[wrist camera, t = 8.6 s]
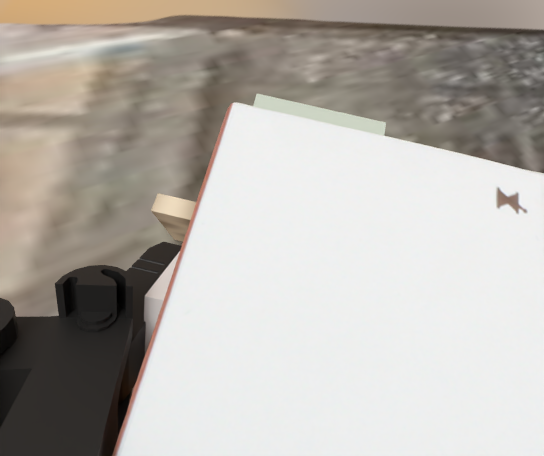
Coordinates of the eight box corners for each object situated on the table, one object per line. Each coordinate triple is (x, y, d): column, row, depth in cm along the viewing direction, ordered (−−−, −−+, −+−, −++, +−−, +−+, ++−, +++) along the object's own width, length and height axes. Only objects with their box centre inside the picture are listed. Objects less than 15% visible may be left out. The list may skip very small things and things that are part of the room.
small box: (244, 250, 18) (229, 87, 6) (351, 276, 18) (563, 166, 6) (203, 403, 16) (25, 679, 3) (326, 433, 16) (608, 834, 3)
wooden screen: (174, 239, 33) (151, 210, 25) (179, 225, 33) (157, 193, 26) (399, 293, 32) (443, 279, 25) (400, 278, 33) (444, 260, 25)
